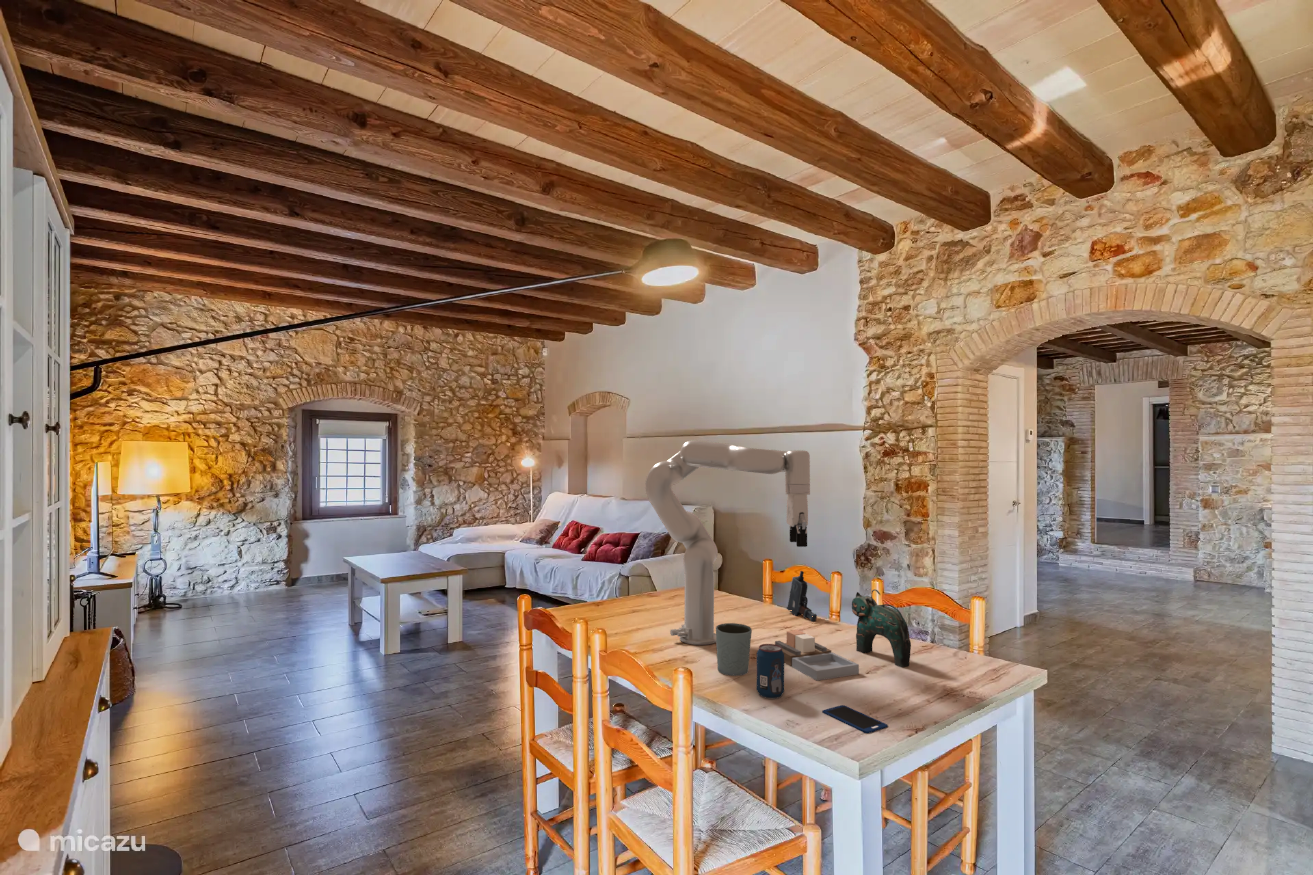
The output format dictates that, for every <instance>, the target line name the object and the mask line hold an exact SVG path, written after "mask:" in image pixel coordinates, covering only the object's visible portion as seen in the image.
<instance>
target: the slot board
mask: <svg viewBox="0 0 1313 875" xmlns="http://www.w3.org/2000/svg"><path fill="white" fill-rule="evenodd" d="M774 644H775V645H779V646H781V647H782V651H783V653H784V665H785V664H786V665H787V666H789V667H791V668H793V667H792V658H796V657H803V656H810V655H817V654H824V653H832V650H831V649H830V648H829V649H828V647H826V646H823V645H822V644H820V643H817V642H815V651H813V652H806V653H803V652H801V651H799V650H797V649H795V648H793V647H791V646H789V645H787V642H785V643H784V642H783V641H782V640H776V641H774Z"/></svg>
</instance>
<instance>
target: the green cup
mask: <svg viewBox="0 0 1313 875" xmlns="http://www.w3.org/2000/svg"><path fill="white" fill-rule="evenodd" d="M752 631H753V630H752V628H751V627H750V626H749V625H746V624H744V623H743V624H742V623H738V622H737V623H735V622H728V623H720V624H718V625H716V626H715V634H716V652H717V653H716V660H717V661H716V662H717V663H716V664H717V671H718V673H720V674H722V675H725V676H730V677H731V676H732V677H738V676H744V675H746V674H748V673H749V666H750V665H749V662H750V652H751V639H752Z"/></svg>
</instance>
